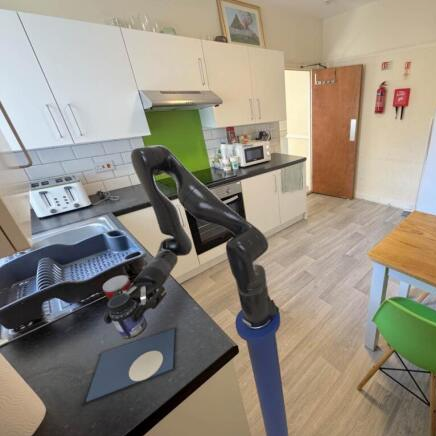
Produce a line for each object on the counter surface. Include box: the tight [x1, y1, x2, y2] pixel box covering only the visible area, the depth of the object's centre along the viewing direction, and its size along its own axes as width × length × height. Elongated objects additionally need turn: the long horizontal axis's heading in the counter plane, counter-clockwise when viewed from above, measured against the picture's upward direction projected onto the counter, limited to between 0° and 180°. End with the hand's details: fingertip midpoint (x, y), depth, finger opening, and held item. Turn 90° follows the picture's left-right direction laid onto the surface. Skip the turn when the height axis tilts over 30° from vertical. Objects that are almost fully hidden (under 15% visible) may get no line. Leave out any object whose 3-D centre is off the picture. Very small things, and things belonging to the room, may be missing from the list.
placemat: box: [85, 328, 176, 403], centre depth 68 cm, size 20×14×1 cm
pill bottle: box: [107, 293, 148, 340], centre depth 61 cm, size 6×6×11 cm
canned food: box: [102, 274, 133, 301], centre depth 85 cm, size 8×8×11 cm
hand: (120, 320), depth 59 cm, fingers closed on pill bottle, 6 cm apart
